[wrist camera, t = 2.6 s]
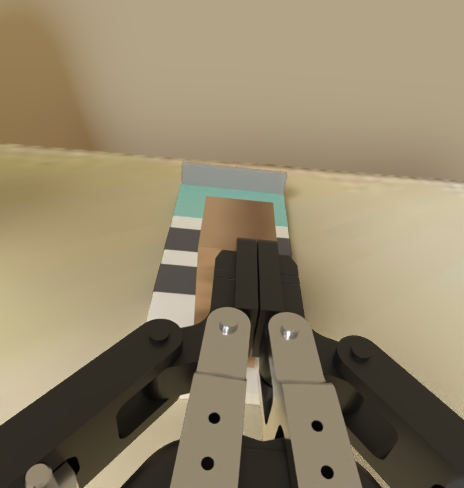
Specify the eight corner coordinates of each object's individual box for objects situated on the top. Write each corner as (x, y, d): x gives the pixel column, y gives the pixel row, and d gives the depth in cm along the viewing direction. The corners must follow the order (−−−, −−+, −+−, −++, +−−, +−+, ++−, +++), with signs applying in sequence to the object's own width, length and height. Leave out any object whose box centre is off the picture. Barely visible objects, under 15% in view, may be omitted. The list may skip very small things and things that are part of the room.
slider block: (191, 362, 32) (198, 246, 25) (198, 307, 37) (206, 196, 30) (253, 367, 33) (278, 254, 25) (252, 312, 37) (273, 202, 30)
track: (130, 394, 32) (126, 360, 29) (181, 190, 57) (182, 161, 54) (306, 408, 32) (319, 376, 30) (281, 200, 57) (286, 172, 55)
